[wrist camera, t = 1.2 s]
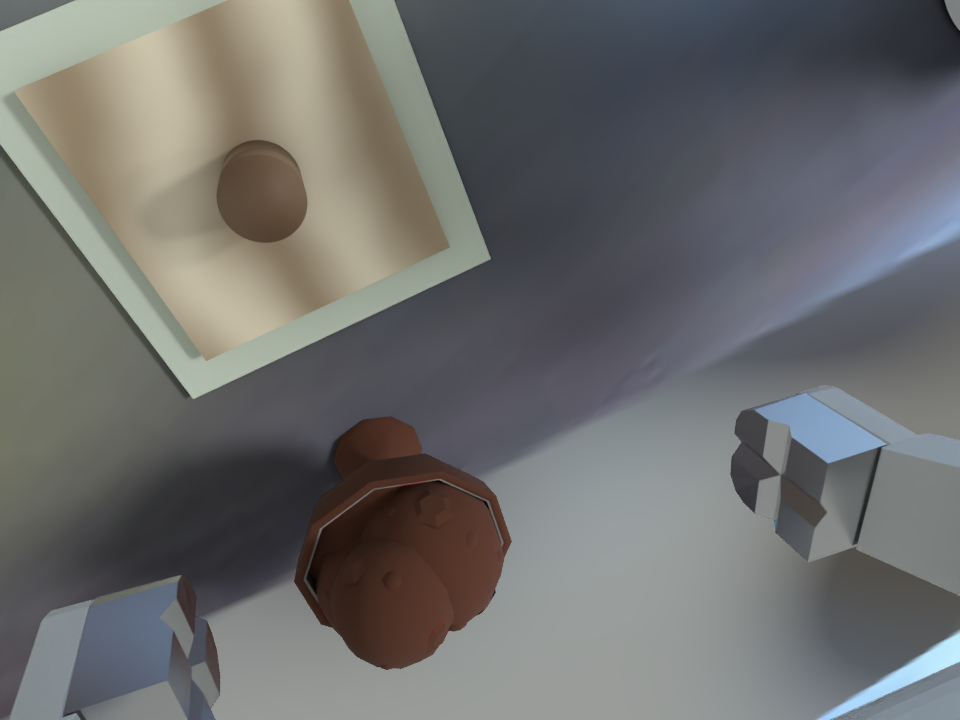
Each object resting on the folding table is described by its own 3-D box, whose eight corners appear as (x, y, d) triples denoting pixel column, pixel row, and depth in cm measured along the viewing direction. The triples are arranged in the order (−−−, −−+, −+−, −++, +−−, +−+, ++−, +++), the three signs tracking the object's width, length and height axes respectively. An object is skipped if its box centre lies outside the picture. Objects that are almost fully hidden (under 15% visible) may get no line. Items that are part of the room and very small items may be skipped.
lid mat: (350, -113, 27) (351, -114, 27) (488, 256, 37) (491, 259, 37) (-61, 57, 26) (-65, 58, 26) (193, 395, 36) (193, 399, 35)
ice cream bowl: (331, 546, 43) (362, 768, 31) (258, 417, 37) (260, 625, 25) (478, 484, 44) (567, 672, 32) (431, 350, 39) (516, 515, 26)
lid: (329, -43, 28) (341, -52, 24) (446, 242, 35) (470, 272, 31) (19, 88, 27) (-23, 102, 23) (207, 354, 34) (200, 400, 30)
